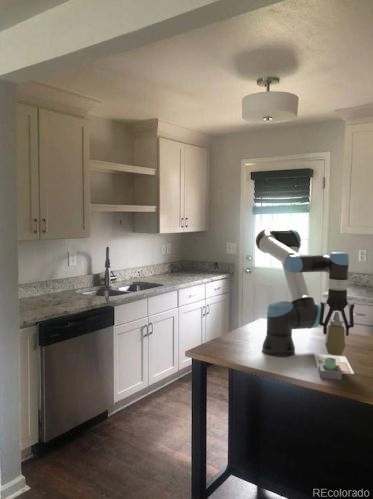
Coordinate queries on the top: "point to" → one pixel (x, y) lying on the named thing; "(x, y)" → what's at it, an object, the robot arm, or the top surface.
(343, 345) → the squeeze bottle
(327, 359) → the button
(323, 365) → the button collar
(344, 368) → the picture sheet
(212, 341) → the top surface
